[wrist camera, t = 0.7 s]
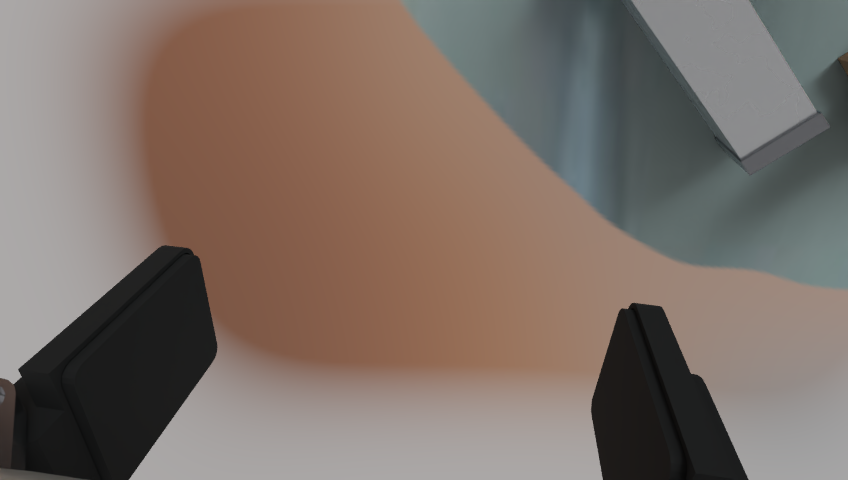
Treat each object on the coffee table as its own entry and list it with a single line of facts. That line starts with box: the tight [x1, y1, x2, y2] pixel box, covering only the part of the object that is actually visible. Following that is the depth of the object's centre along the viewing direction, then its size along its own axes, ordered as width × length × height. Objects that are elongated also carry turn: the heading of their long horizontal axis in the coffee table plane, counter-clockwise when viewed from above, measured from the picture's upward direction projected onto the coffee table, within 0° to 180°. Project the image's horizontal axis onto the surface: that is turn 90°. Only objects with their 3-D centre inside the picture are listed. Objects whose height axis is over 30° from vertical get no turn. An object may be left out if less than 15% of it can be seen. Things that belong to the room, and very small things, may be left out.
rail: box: [621, 0, 830, 175], centre depth 27 cm, size 4×16×4 cm, turn 42°
